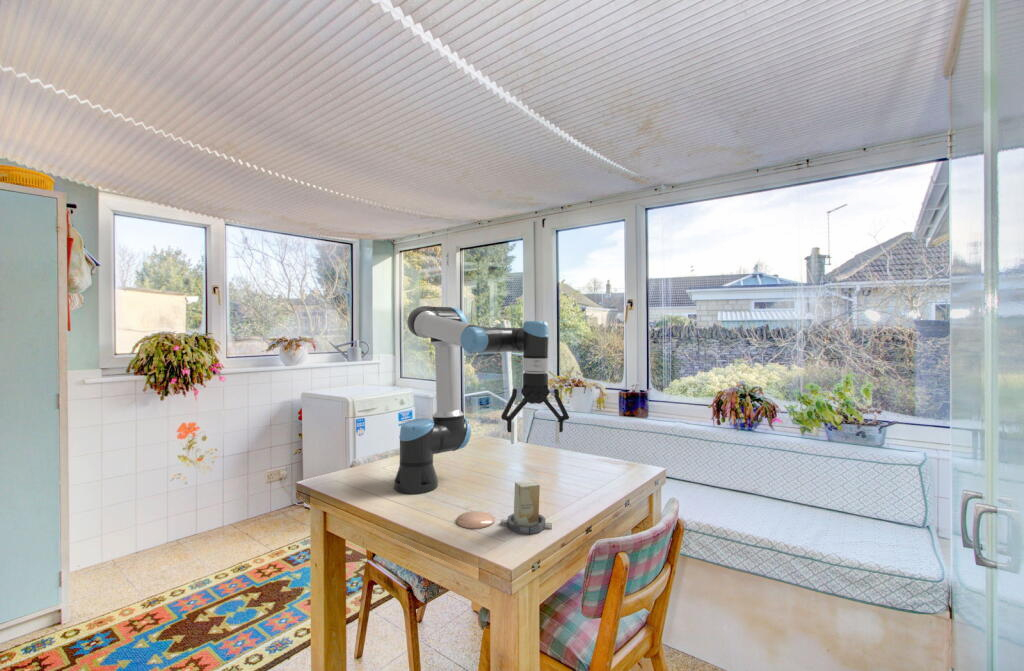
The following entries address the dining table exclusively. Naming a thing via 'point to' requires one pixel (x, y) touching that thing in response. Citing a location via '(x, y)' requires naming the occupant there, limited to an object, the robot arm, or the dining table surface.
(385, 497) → the dining table surface
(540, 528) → the bayonet collar
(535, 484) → the skincare box
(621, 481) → the dining table surface
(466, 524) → the peach dome button
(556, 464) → the dining table surface
